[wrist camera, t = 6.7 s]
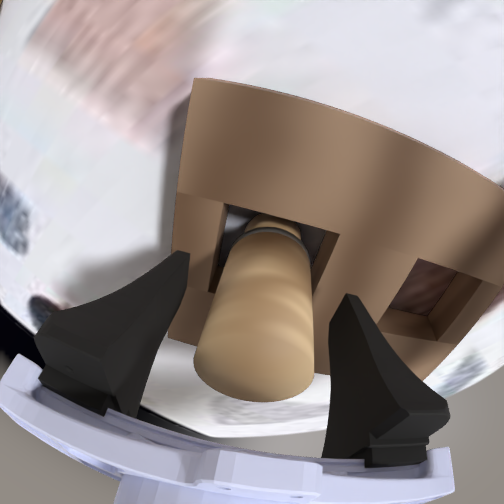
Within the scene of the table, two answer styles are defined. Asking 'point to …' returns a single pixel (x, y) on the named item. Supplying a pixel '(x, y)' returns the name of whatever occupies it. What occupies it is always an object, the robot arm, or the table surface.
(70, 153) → the table surface
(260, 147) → the walnut board
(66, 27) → the table surface
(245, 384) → the oak peg
